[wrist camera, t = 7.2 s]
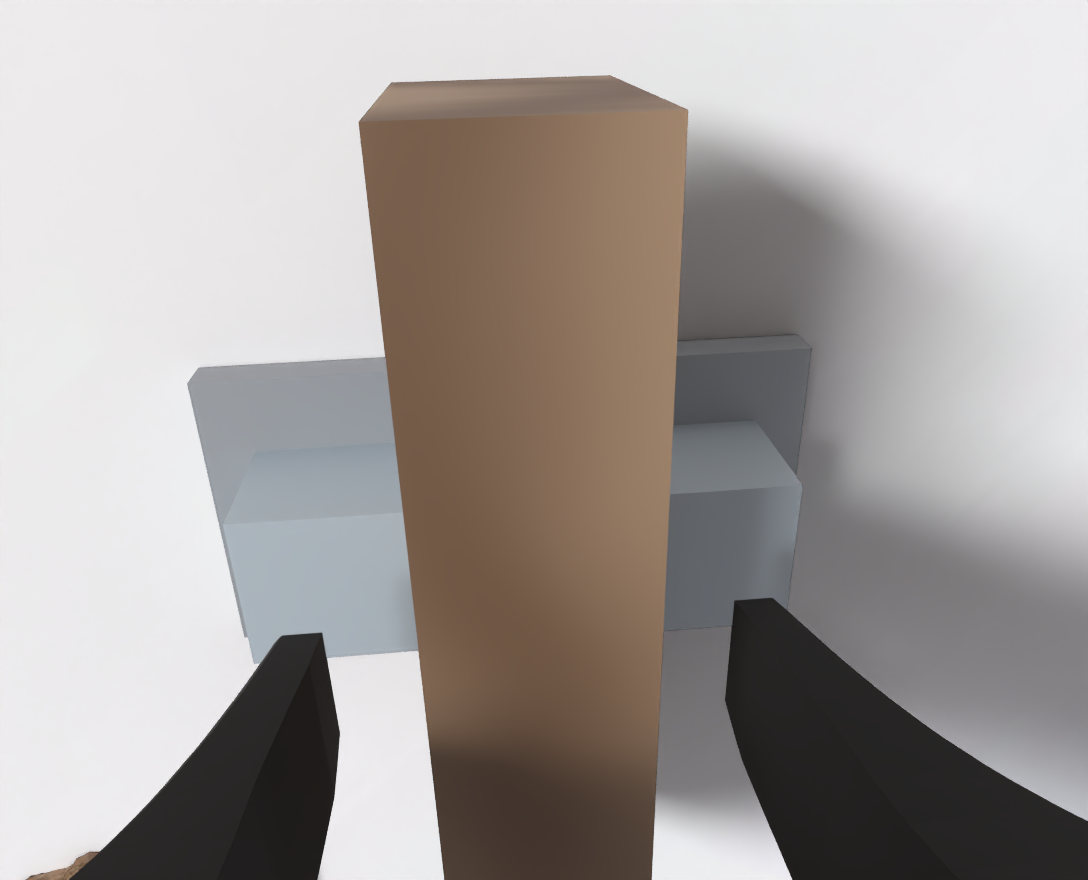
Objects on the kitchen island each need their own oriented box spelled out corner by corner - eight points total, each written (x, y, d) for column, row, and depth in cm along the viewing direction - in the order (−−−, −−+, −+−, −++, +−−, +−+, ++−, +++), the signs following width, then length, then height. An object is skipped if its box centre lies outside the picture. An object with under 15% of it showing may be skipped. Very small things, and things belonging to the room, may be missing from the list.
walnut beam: (610, 75, 12) (688, 109, 8) (602, 858, 19) (641, 1084, 15) (391, 82, 12) (358, 121, 8) (466, 872, 19) (469, 1103, 15)
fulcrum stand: (797, 334, 18) (870, 404, 15) (770, 575, 20) (827, 677, 17) (198, 367, 17) (141, 449, 14) (251, 614, 20) (214, 728, 17)
